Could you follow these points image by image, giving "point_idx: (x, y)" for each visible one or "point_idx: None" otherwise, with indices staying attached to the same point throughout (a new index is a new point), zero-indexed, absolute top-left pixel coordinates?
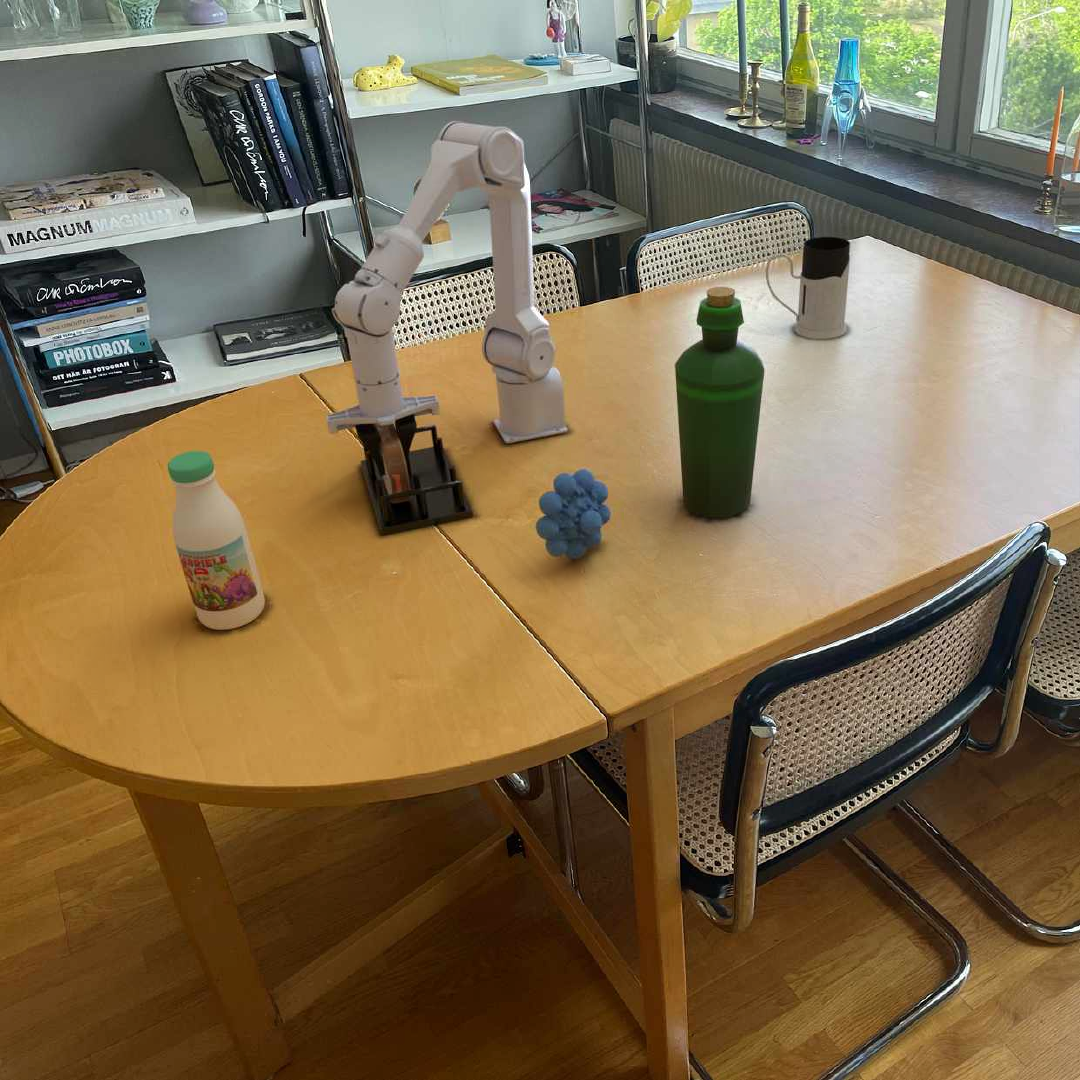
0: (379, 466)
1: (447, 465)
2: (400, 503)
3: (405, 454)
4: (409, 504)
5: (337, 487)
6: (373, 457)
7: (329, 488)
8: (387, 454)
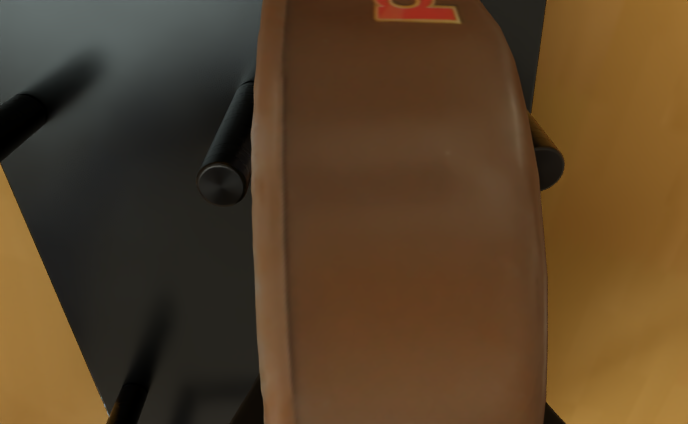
0: None
1: (106, 368)
2: None
3: None
4: None
5: (611, 362)
6: (550, 409)
7: (644, 365)
8: (497, 316)
